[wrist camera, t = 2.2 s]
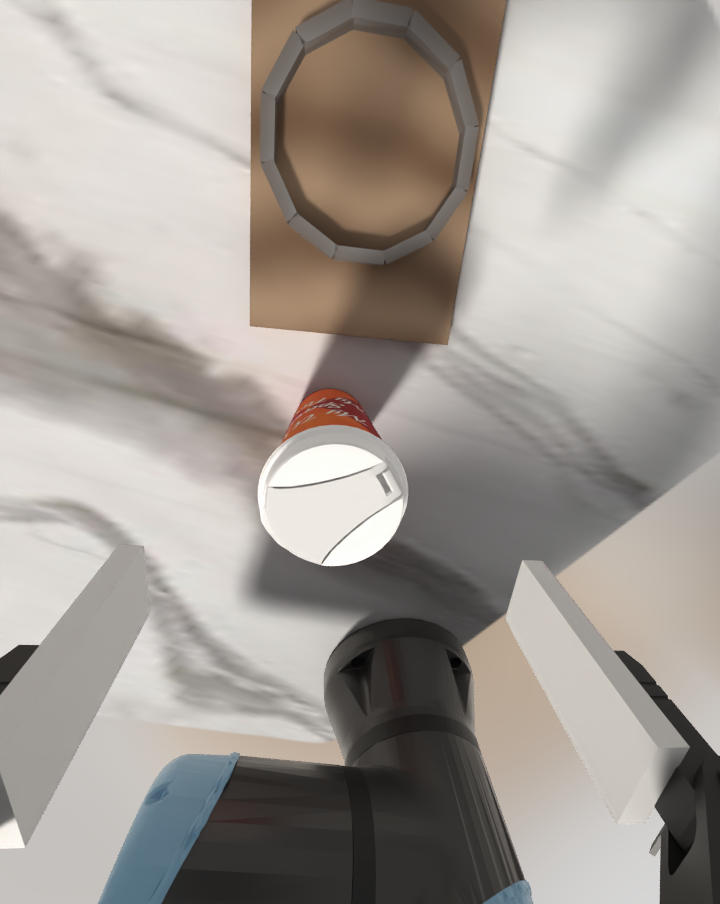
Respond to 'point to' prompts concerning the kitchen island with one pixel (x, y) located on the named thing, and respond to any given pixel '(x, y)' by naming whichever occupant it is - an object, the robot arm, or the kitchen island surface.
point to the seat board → (365, 161)
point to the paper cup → (332, 484)
